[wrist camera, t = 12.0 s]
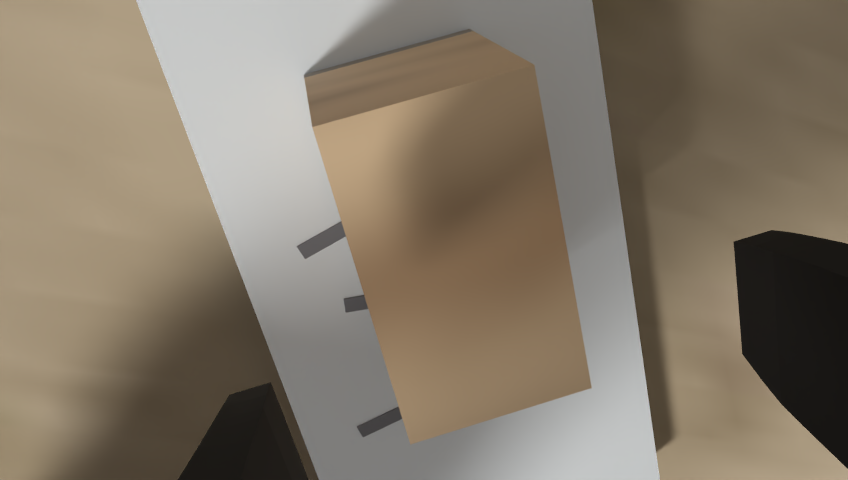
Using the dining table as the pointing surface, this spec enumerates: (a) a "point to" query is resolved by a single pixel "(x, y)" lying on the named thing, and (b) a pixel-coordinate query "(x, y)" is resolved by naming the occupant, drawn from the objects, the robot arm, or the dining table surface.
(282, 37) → the board
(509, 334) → the block
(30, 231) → the dining table surface
